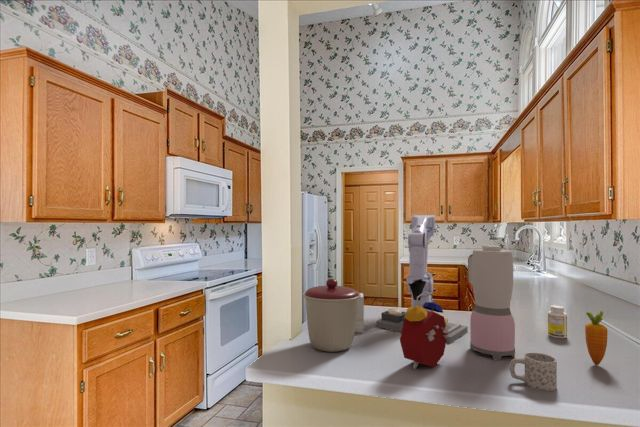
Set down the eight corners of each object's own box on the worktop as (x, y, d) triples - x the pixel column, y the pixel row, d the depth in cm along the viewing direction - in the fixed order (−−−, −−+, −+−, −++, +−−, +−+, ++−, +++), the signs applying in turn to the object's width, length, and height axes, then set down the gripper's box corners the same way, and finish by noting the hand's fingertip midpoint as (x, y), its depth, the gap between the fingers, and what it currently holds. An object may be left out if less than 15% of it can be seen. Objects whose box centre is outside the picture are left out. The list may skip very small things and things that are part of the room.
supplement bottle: (556, 333, 129) (556, 304, 130) (571, 338, 124) (571, 308, 124) (543, 334, 128) (543, 305, 128) (557, 339, 123) (557, 308, 123)
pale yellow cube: (436, 328, 126) (436, 316, 126) (447, 330, 124) (447, 318, 124) (431, 330, 123) (431, 318, 123) (443, 333, 121) (443, 321, 121)
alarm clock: (428, 354, 108) (428, 286, 108) (456, 362, 102) (456, 290, 102) (399, 367, 98) (399, 292, 98) (428, 378, 92) (428, 298, 92)
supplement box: (363, 327, 135) (363, 292, 135) (363, 333, 128) (364, 296, 128) (343, 326, 136) (343, 292, 136) (342, 332, 128) (342, 296, 129)
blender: (525, 357, 106) (525, 247, 107) (493, 362, 102) (493, 248, 102) (483, 340, 121) (483, 243, 122) (453, 344, 117) (454, 244, 117)
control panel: (396, 317, 148) (396, 306, 148) (467, 331, 130) (467, 319, 130) (376, 326, 136) (376, 314, 136) (450, 343, 118) (450, 329, 118)
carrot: (583, 365, 101) (583, 310, 101) (587, 360, 104) (586, 307, 105) (606, 370, 97) (605, 313, 98) (609, 365, 101) (608, 310, 101)
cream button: (392, 313, 142) (392, 307, 142) (404, 315, 139) (404, 310, 139) (385, 315, 138) (385, 310, 138) (397, 317, 135) (397, 312, 135)
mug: (550, 380, 91) (550, 354, 91) (561, 393, 84) (561, 364, 84) (506, 376, 93) (506, 350, 93) (513, 387, 87) (513, 359, 87)
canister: (295, 340, 119) (296, 275, 120) (346, 335, 125) (346, 273, 126) (312, 360, 102) (313, 285, 103) (370, 353, 108) (371, 282, 109)
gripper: (419, 267, 131) (419, 305, 131) (434, 263, 142) (434, 298, 142) (401, 265, 135) (400, 302, 135) (417, 261, 146) (417, 295, 146)
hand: (417, 299), depth 139 cm, fingers closed
